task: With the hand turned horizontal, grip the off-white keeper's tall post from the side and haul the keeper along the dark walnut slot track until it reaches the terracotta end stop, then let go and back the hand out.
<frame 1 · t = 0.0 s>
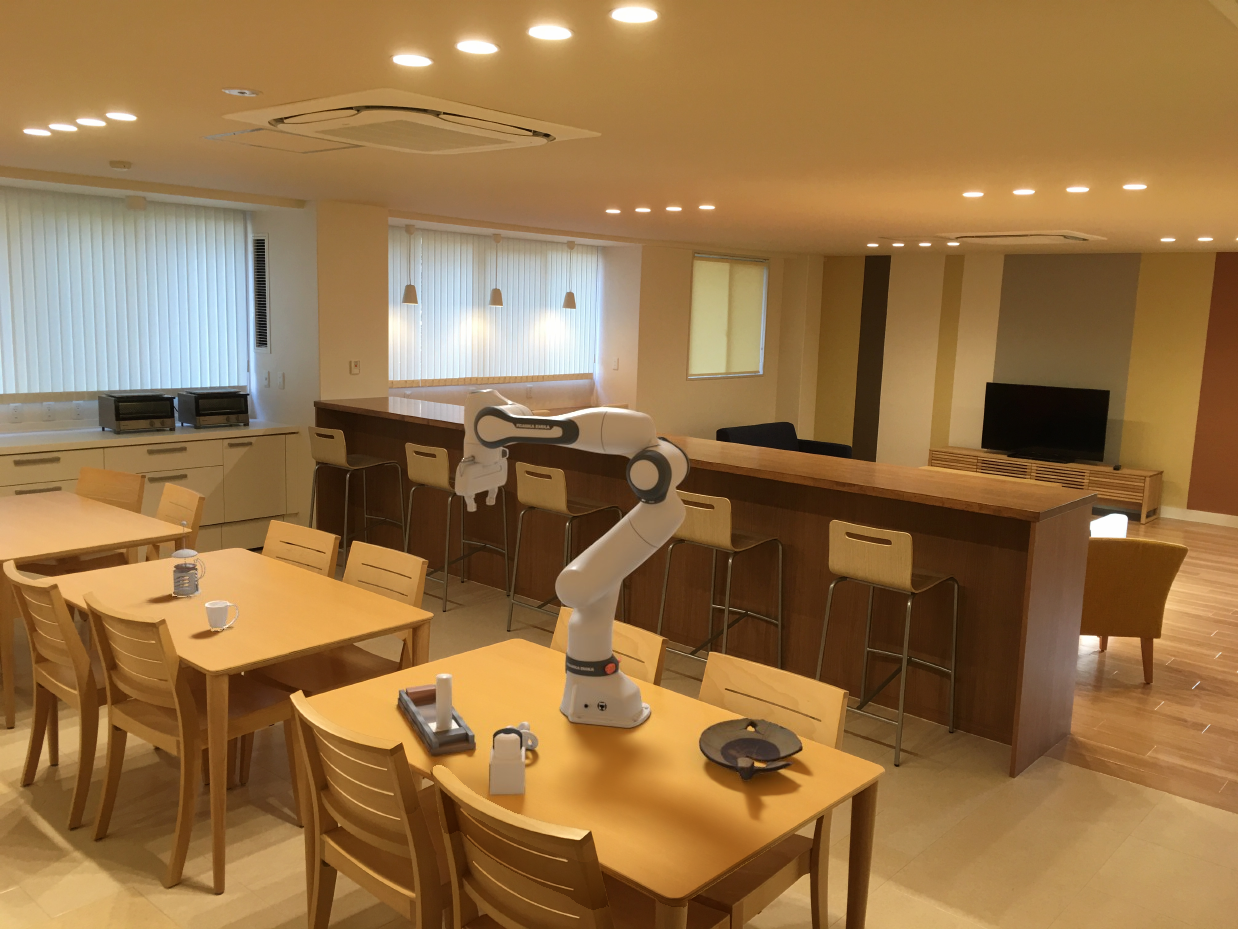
hand: (481, 507, 245), 48 cm above the table, tool pointing down, fingers open, 8 cm apart
slot track: (434, 725, 229), on the table
knot: (521, 752, 216), on the table
cup: (222, 629, 294), on the table
dark grey shallow dish: (743, 767, 212), on the table
french press: (189, 594, 328), on the table
keeper: (444, 704, 220), point 8 cm above the table, slide at 0.0 cm
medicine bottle: (507, 787, 200), on the table
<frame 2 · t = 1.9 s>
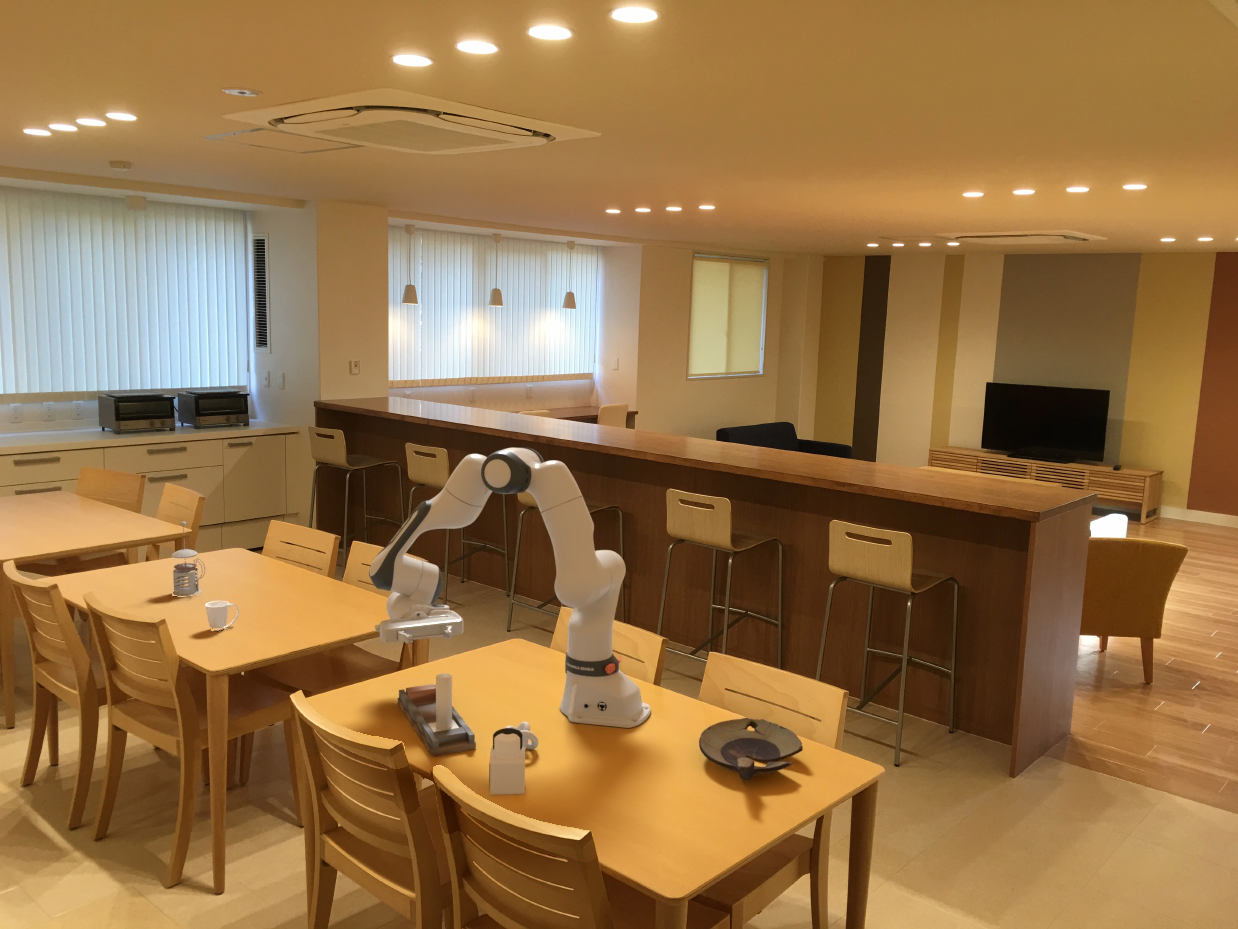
hand: (429, 638, 229), 20 cm above the table, tool horizontal, fingers open, 8 cm apart
nothing on the table moved.
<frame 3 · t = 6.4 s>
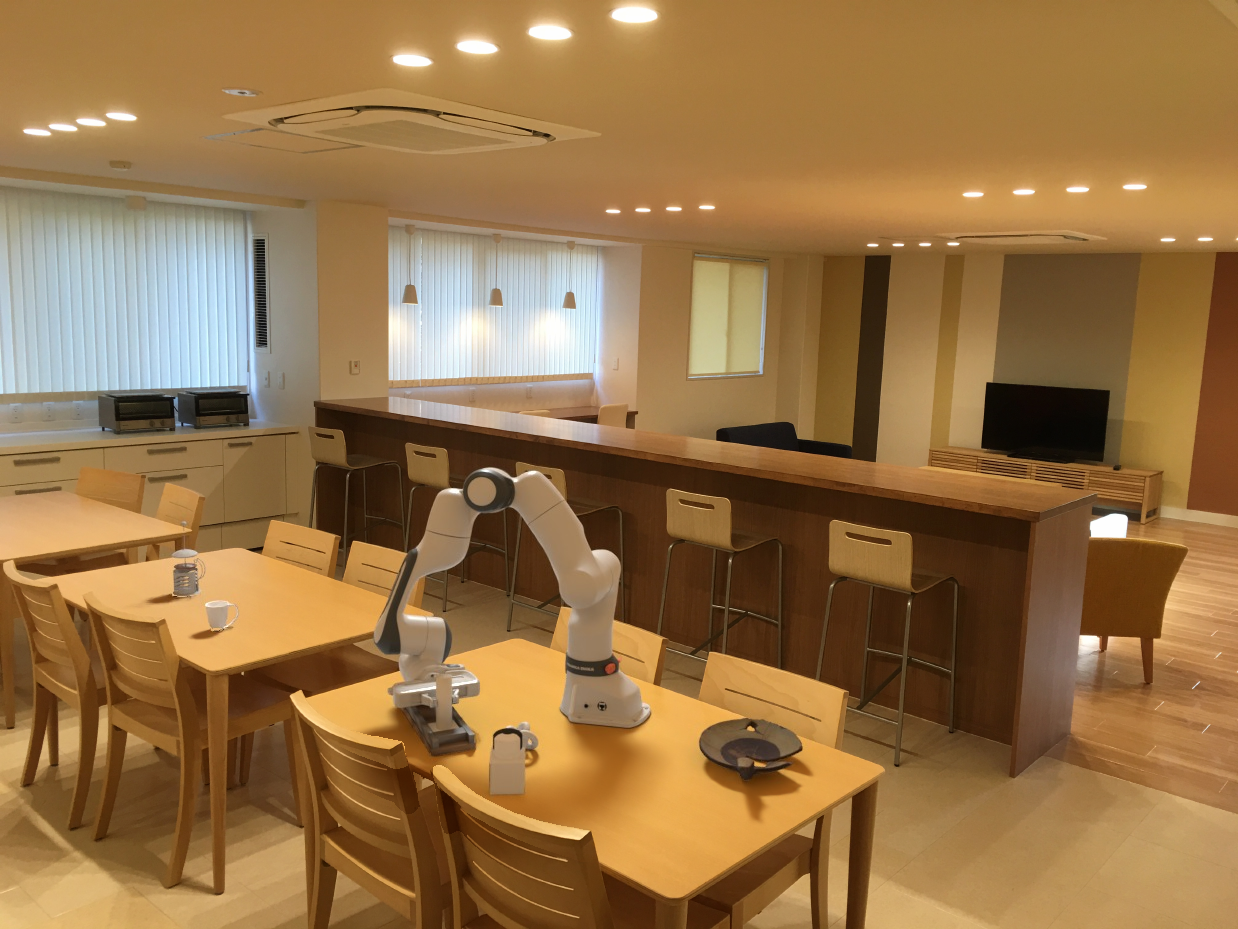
hand: (445, 702, 219), 9 cm above the table, tool horizontal, fingers closed on keeper, 4 cm apart
keeper: (444, 704, 220), point 8 cm above the table, slide at 0.0 cm, touching gripper
everything else where it was.
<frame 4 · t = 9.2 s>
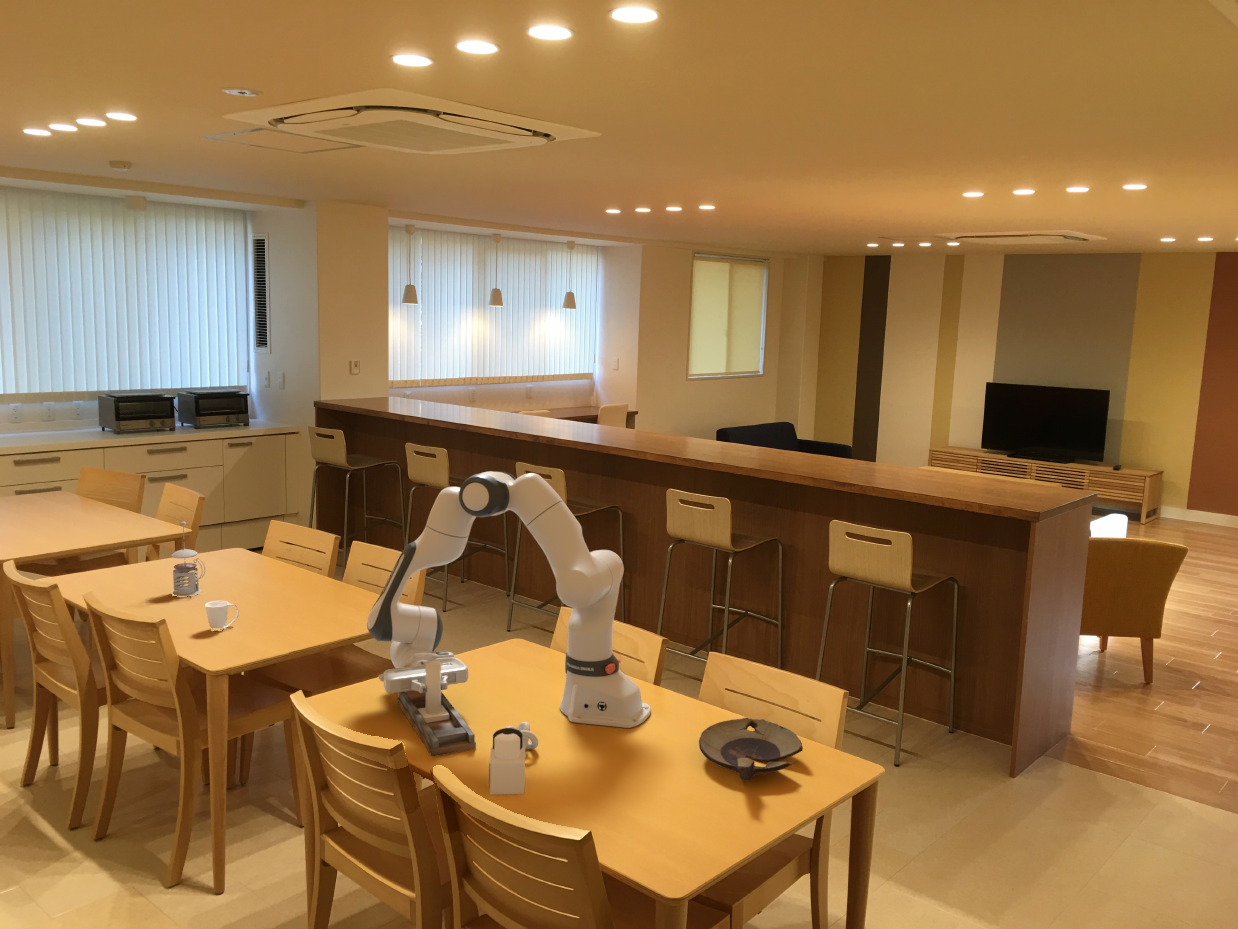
hand: (434, 688, 228), 9 cm above the table, tool horizontal, fingers closed on keeper, 4 cm apart
keeper: (433, 689, 229), point 8 cm above the table, slide at 9.2 cm, touching gripper
everything else where it was.
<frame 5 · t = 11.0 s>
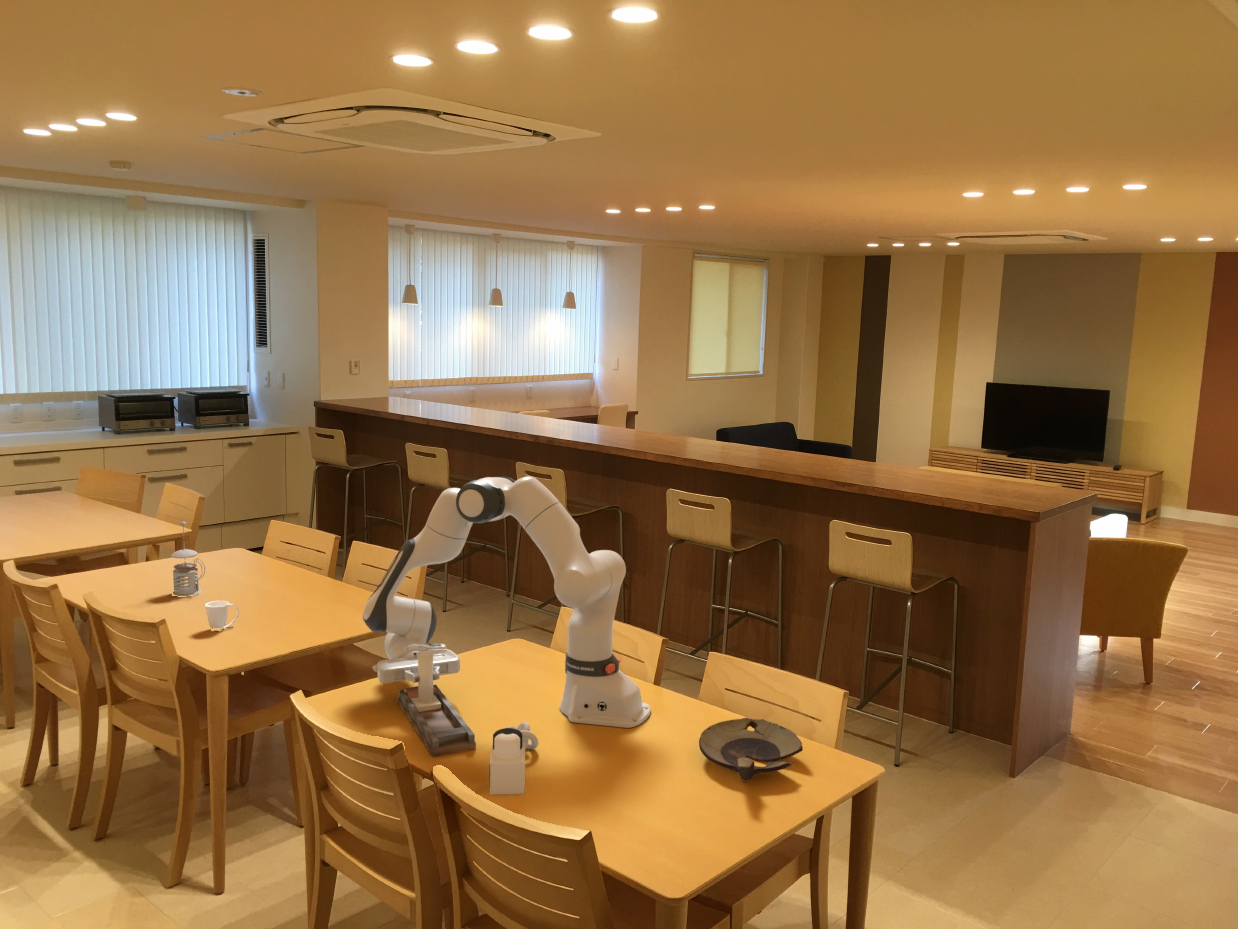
hand: (426, 678, 234), 9 cm above the table, tool horizontal, fingers closed on keeper, 4 cm apart
keeper: (425, 680, 235), point 8 cm above the table, slide at 16.0 cm, touching gripper
everything else where it was.
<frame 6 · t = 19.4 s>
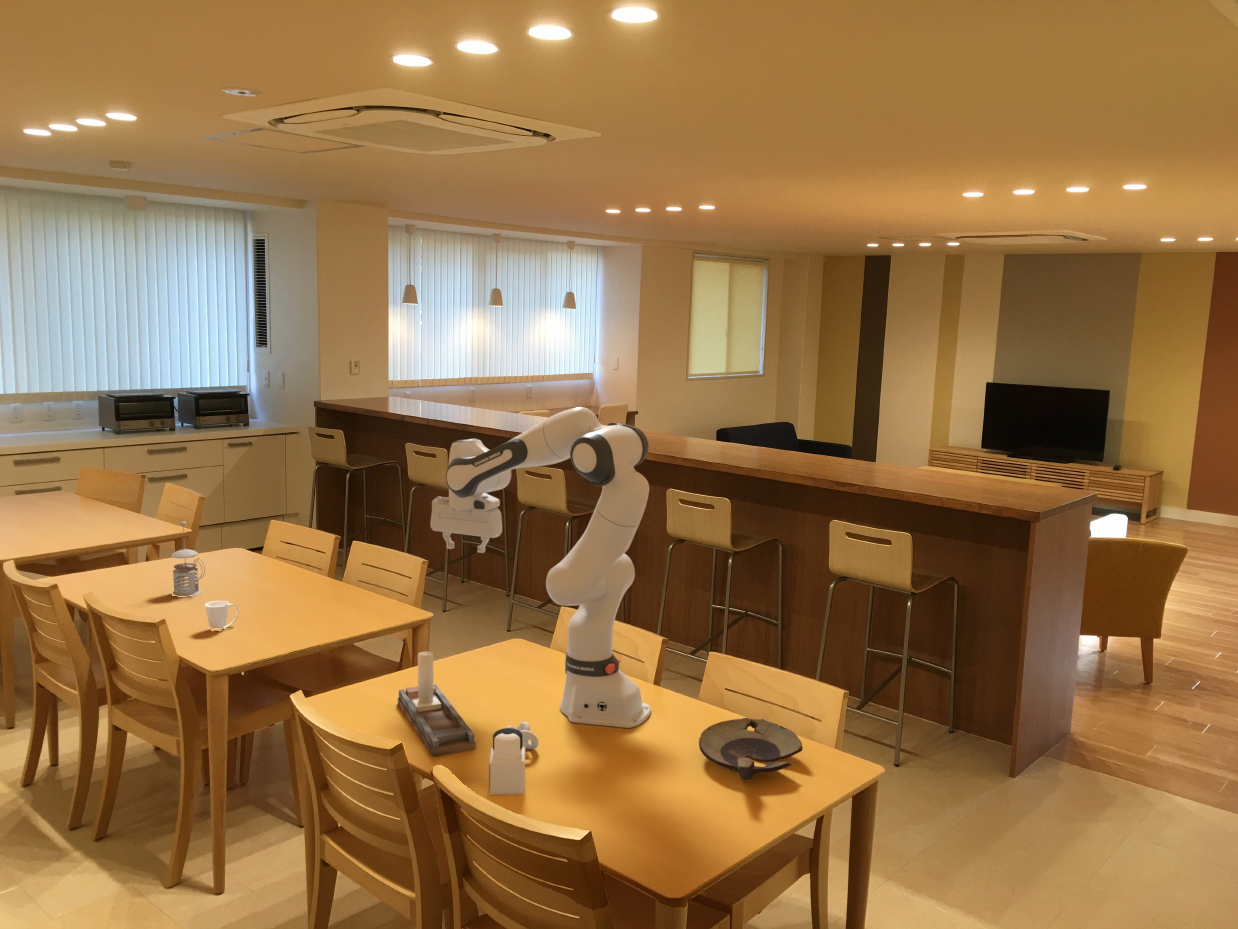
hand: (465, 550, 257), 34 cm above the table, tool pointing down, fingers open, 8 cm apart
keeper: (425, 680, 235), point 8 cm above the table, slide at 16.0 cm
everything else where it was.
at the end: keeper slide at 16.0 cm; the gripper is holding nothing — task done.
